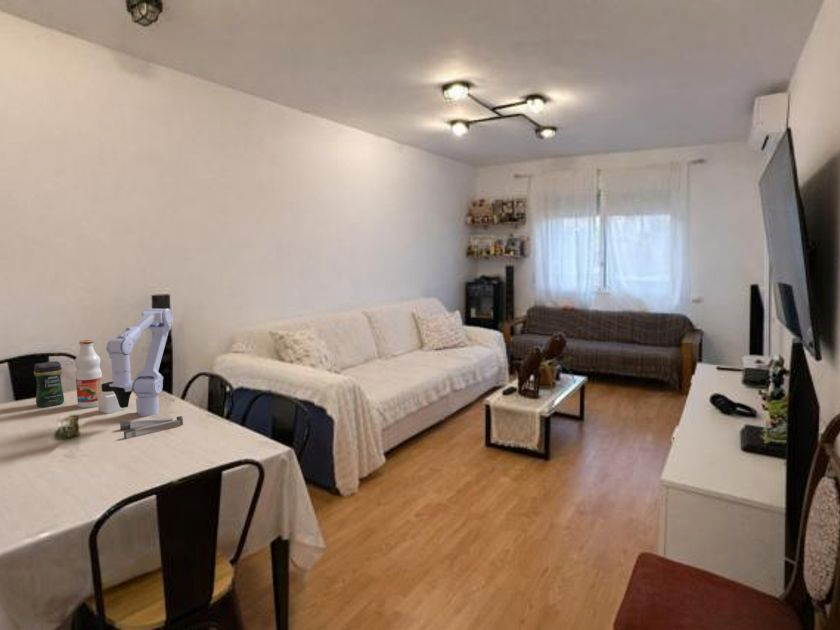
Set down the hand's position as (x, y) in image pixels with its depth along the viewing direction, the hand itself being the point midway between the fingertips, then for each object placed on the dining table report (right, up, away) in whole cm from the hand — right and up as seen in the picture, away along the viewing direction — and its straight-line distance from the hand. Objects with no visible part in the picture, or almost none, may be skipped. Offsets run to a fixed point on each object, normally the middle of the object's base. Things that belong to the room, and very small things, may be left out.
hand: (123, 407), depth 183 cm
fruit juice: (-32, -5, +31) cm, 45 cm away
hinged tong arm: (+9, -7, -1) cm, 12 cm away
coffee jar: (-50, -5, +31) cm, 59 cm away
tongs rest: (+11, -9, -3) cm, 15 cm away
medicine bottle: (-19, -6, +23) cm, 30 cm away
